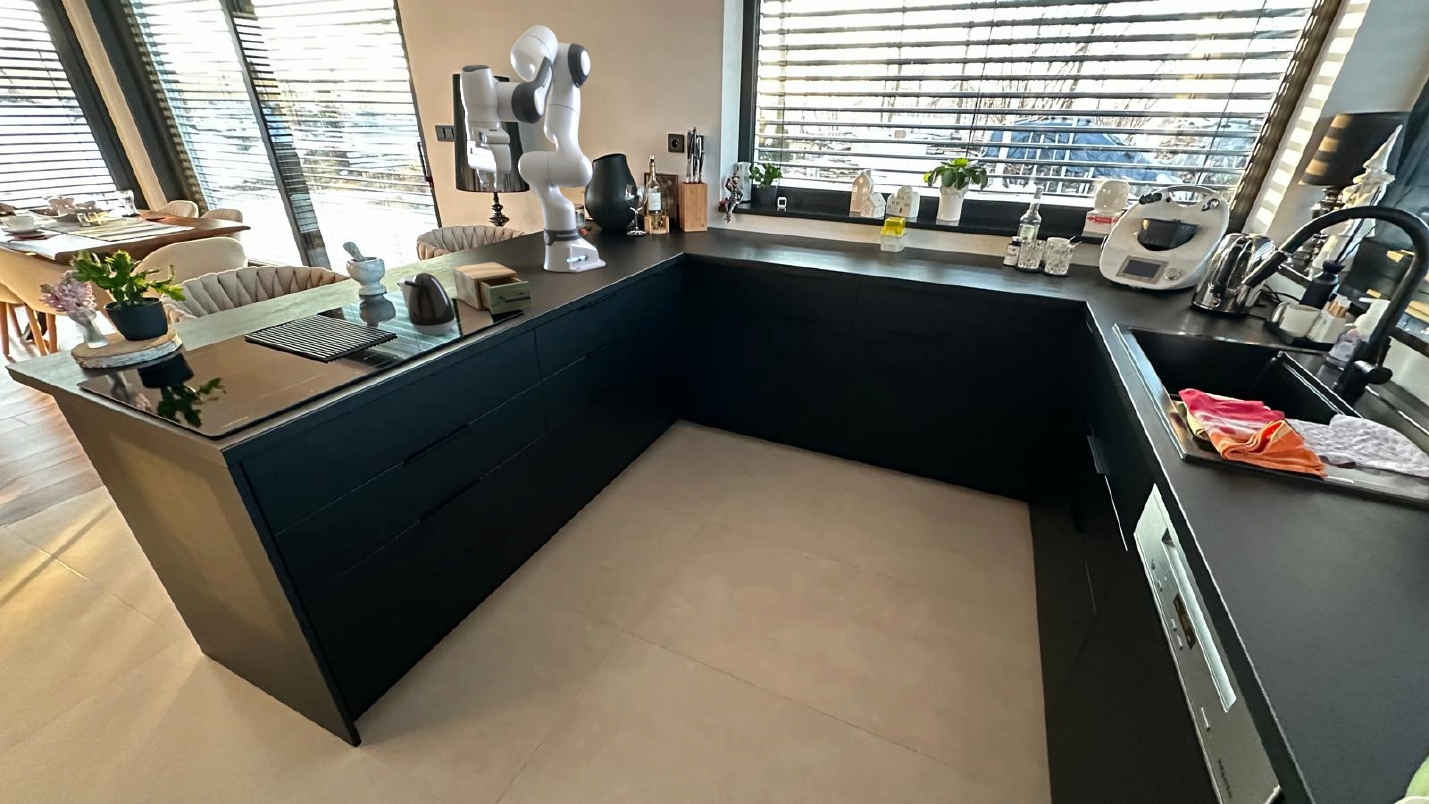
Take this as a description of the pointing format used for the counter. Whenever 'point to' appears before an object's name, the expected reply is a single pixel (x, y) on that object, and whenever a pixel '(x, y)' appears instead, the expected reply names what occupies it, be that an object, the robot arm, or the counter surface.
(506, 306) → the green drawer
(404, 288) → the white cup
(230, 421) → the counter surface
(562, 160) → the robot arm
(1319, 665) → the counter surface
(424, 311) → the pump dispenser
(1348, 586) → the counter surface
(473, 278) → the wooden drawer box
